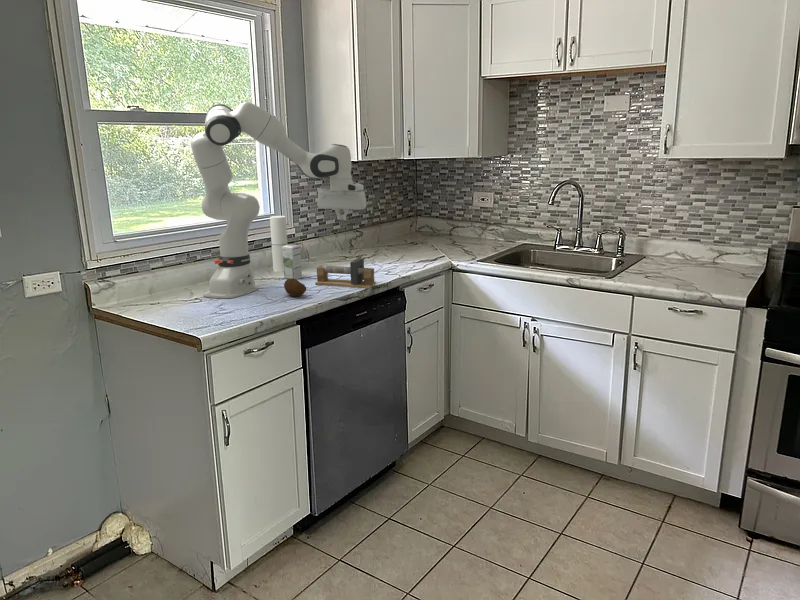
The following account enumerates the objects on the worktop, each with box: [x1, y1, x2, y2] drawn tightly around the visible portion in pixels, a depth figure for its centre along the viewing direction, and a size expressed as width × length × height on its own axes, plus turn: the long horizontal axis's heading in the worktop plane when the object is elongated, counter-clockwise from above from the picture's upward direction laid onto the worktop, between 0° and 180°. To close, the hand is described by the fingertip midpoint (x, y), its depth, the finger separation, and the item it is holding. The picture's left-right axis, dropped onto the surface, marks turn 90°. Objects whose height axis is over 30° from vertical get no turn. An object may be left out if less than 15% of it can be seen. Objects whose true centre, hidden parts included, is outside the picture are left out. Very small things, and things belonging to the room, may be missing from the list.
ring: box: [349, 257, 365, 284], centre depth 251 cm, size 9×2×9 cm, turn 162°
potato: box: [283, 278, 307, 298], centre depth 236 cm, size 7×12×7 cm, turn 53°
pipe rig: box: [315, 265, 377, 289], centre depth 253 cm, size 8×24×8 cm, turn 72°
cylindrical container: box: [269, 215, 288, 273], centre depth 279 cm, size 7×7×25 cm
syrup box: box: [282, 244, 303, 280], centre depth 265 cm, size 6×6×14 cm
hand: (342, 220), depth 247 cm, fingers closed
